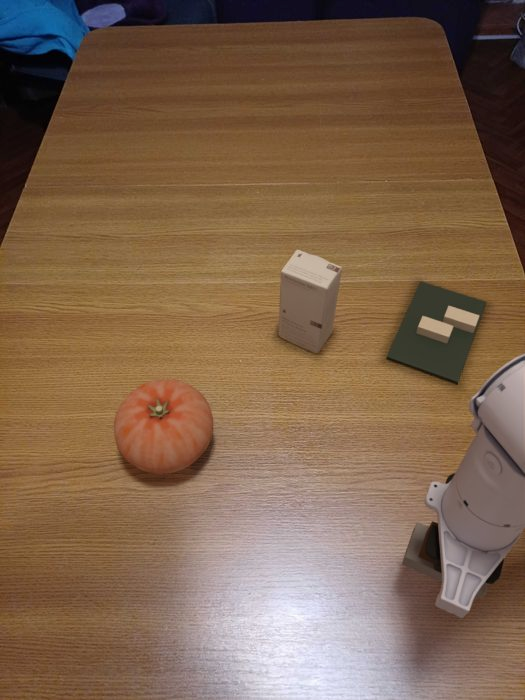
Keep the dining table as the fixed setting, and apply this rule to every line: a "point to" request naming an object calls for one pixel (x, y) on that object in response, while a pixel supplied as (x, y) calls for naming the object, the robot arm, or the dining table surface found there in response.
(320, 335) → the cosmetic box
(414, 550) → the eraser
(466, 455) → the robot arm
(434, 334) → the chalk
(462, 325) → the chalk
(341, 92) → the dining table surface
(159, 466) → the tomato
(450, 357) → the slate
